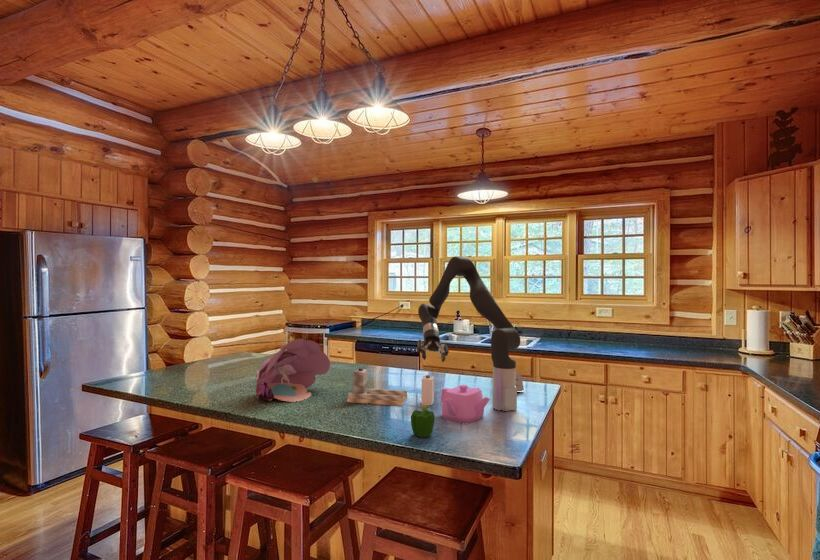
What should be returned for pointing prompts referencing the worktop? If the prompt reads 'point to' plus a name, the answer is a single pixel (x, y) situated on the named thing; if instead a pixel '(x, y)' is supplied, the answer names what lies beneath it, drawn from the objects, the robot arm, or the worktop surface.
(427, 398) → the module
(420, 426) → the bell pepper
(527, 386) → the worktop surface
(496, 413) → the worktop surface
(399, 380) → the worktop surface
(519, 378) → the electrical switch
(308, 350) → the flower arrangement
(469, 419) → the teakettle
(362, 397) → the rail plate
